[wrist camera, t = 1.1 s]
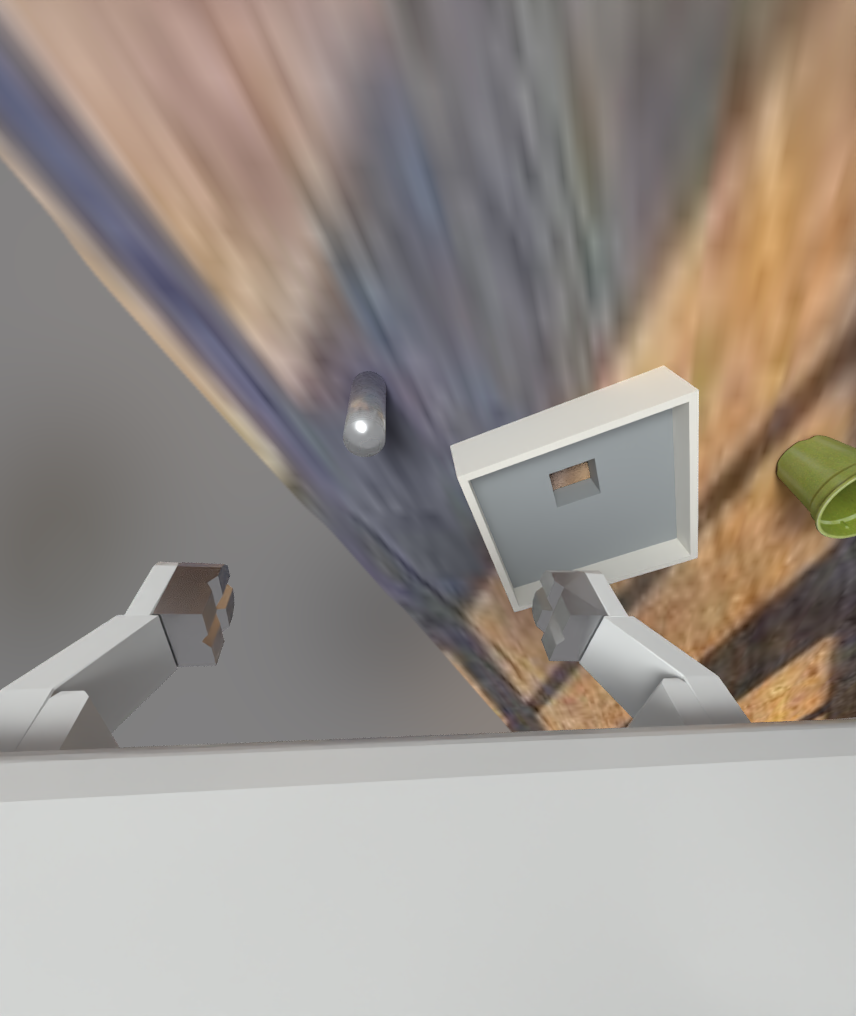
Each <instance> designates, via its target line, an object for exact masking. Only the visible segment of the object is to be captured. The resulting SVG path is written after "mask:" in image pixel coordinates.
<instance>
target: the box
mask: <svg viewBox="0 0 856 1016" xmlns="http://www.w3.org/2000/svg"><path fill="white" fill-rule="evenodd" d="M698 427H699V390H698V389H697V388H695V387H694V386H692V385H691V384H689V383H688V382H687V381H685V380H684V379H682V378H681V377H679V376H678V375H677V374H675V373H674V372H672V371H671V370H670V369H668V368H667V367H665V366H661V367H658V368H656V369H653V370H650V371H648V372H645V373H642V374H640V375H637V376H634V377H632V378H629V379H626V380H624V381H621V382H618V383H616V384H613V385H610V386H608V387H605V388H602V389H600V390H597V391H594V392H592V393H589V394H586V395H584V396H581V397H579V398H576V399H573V400H571V401H568V402H565V403H563V404H560V405H557V406H555V407H552V408H549V409H547V410H544V411H541V412H539V413H536V414H533V415H531V416H528V417H525V418H523V419H520V420H517V421H515V422H512V423H509V424H507V425H504V426H501V427H499V428H496V429H493V430H491V431H488V432H485V433H483V434H480V435H477V436H475V437H472V438H469V439H467V440H464V441H461V442H459V443H456V444H453V445H451V446H450V448H451V452H452V457H453V461H454V466H455V470H456V475H457V478H458V481H459V483H460V485H461V488H462V490H463V492H464V495H465V497H466V500H467V502H468V504H469V507H470V509H471V511H472V514H473V516H474V518H475V521H476V523H477V525H478V528H479V530H480V532H481V535H482V537H483V540H484V542H485V544H486V547H487V549H488V551H489V554H490V556H491V558H492V561H493V563H494V565H495V568H496V570H497V572H498V575H499V577H500V580H501V582H502V584H503V587H504V589H505V591H506V594H507V596H508V598H509V601H510V603H511V605H512V608H513V610H514V612H517V611H521V610H524V609H527V608H531V607H532V604H533V598H534V595H535V592H536V591H537V590H539V589H540V588H541V587H542V584H541V582H540V579H541V576H542V574H543V573H544V572H545V571H546V570H577V571H581V570H591V571H600V572H601V573H602V574H603V575H604V577H605V578H606V580H607V582H608V583H609V584H611V583H615V582H618V581H622V580H625V579H628V578H632V577H635V576H638V575H642V574H645V573H648V572H652V571H655V570H659V569H662V568H665V567H669V566H672V565H675V564H679V563H682V562H685V561H689V560H692V559H696V558H698ZM585 461H588V466H589V472H590V477H591V478H589V479H586V480H583V481H580V482H577V483H574V484H571V485H568V486H565V487H562V488H559V489H556V490H553V489H552V485H551V481H550V477H549V474H551V473H554V472H557V471H560V470H563V469H565V468H568V467H571V466H574V465H577V464H580V463H583V462H585Z"/></svg>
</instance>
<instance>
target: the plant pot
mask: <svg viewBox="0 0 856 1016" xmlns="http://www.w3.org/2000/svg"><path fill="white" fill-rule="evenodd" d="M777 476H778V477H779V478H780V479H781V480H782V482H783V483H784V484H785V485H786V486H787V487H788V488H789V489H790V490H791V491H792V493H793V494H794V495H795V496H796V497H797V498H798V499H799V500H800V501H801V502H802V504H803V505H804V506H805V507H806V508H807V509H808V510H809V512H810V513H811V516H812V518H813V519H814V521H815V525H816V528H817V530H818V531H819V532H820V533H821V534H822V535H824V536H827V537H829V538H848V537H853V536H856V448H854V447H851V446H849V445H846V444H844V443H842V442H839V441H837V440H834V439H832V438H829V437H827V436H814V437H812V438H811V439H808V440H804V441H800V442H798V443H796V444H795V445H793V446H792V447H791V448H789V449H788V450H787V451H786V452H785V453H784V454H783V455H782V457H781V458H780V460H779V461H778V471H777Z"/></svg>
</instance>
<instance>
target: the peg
mask: <svg viewBox="0 0 856 1016" xmlns="http://www.w3.org/2000/svg"><path fill="white" fill-rule="evenodd" d="M385 420H386V384H385V382H384V380H383V378H382V377H381V376H380V375H378V374H377V373H374V372H370V371H366V372H362V373H360V374H358V375H357V376H356V377H355V379H354V380H353V383H352V389H351V395H350V400H349V406H348V411H347V417H346V423H345V428H344V434H343V441H344V444H345V446H346V448H347V449H348V450H349V451H350V452H351V453H353V454H355V455H357V456H360V457H370V456H373V455H376V454H377V453H379V452H380V451H381V450H382V448H383V446H384V444H385Z"/></svg>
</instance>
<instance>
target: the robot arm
mask: <svg viewBox="0 0 856 1016" xmlns="http://www.w3.org/2000/svg"><path fill="white" fill-rule="evenodd" d="M229 577H230V574H229V569H228V566H227V565H225V564H205V563H172V562H159V563H157V564H156V565H154V566H153V568H152V569H151V571H150V573H149V575H148V576H147V578H146V580H145V581H144V583H143V585H142V586H141V588H140V590H139V592H138V593H137V595H136V597H135V598H134V600H133V602H132V603H131V605H130V607H129V608H128V610H127V612H126V613H125V615H117V616H115V617H114V618H112V619H111V620H109V621H107V622H106V623H104V624H103V625H101V626H100V627H98V628H97V629H95V630H94V631H92V632H90V633H89V634H87V635H86V636H84V637H83V638H81V639H79V640H78V641H76V642H75V643H73V644H72V645H70V646H68V647H67V648H65V649H64V650H62V651H61V652H59V653H58V654H56V655H54V656H53V657H51V658H50V659H48V660H47V661H45V662H44V663H42V664H40V665H39V666H37V667H36V668H34V669H33V670H31V671H29V672H28V673H26V674H25V675H23V676H22V677H20V678H19V679H17V680H15V681H14V682H12V683H11V684H9V685H8V686H6V687H5V688H3V689H1V690H0V1016H856V719H833V720H808V721H783V722H758V723H751V722H750V721H749V719H748V718H747V717H746V715H745V714H744V712H743V711H742V709H741V708H740V707H739V705H738V704H737V702H736V701H735V699H734V698H733V697H732V695H731V694H730V692H729V691H728V690H727V688H726V687H725V685H724V684H723V682H722V681H721V680H720V678H719V677H718V676H717V675H716V674H714V673H713V672H711V671H710V670H709V669H707V668H706V667H704V666H703V665H702V664H700V663H699V662H697V661H696V660H694V659H693V658H692V657H690V656H689V655H687V654H686V653H685V652H683V651H682V650H680V649H679V648H677V647H676V646H675V645H673V644H672V643H670V642H669V641H668V640H666V639H665V638H663V637H662V636H660V635H659V634H658V633H656V632H655V631H653V630H652V629H651V628H649V627H648V626H646V625H645V624H643V623H642V622H641V621H639V620H638V619H636V618H635V617H634V616H628V615H627V613H626V612H625V610H624V608H623V607H622V605H621V603H620V602H619V600H618V598H617V597H616V595H615V593H614V592H613V590H612V588H611V587H610V585H609V583H608V582H607V580H606V578H605V577H604V575H603V574H602V573H601V572H600V571H591V570H581V571H577V570H546V571H545V572H544V573H543V574H542V576H541V579H540V582H541V584H542V587H541V588H540V589H539V590H537V591H536V592H535V595H534V598H533V604H532V612H533V618H534V621H535V624H536V626H537V627H538V628H539V629H541V630H542V631H543V632H544V634H543V637H542V639H541V640H542V643H543V645H544V648H545V651H546V653H547V656H548V659H549V661H580V662H579V663H580V664H581V665H582V666H583V667H584V668H585V669H586V670H587V671H588V672H589V673H590V674H591V675H592V676H593V677H594V679H595V680H596V681H597V682H598V683H599V684H600V685H601V686H602V687H603V688H604V689H605V690H606V691H607V692H608V693H609V694H610V695H611V696H612V697H613V698H614V699H615V700H616V701H617V702H618V703H619V704H620V705H621V706H622V707H623V708H624V709H625V710H626V711H627V713H628V714H629V715H630V716H631V717H632V718H633V720H632V721H631V722H630V724H629V725H628V726H627V728H605V729H579V730H554V731H529V732H504V733H479V734H454V735H429V736H403V737H378V738H353V739H329V740H302V741H277V742H252V743H226V744H202V745H201V744H200V745H176V746H151V747H150V746H149V747H124V748H119V746H118V744H117V743H116V741H115V739H114V738H113V736H112V734H111V733H112V732H113V731H114V730H116V729H117V728H118V726H119V725H121V724H122V723H123V722H124V721H125V720H126V719H127V718H128V717H129V716H130V715H131V714H132V713H133V712H134V711H135V710H136V709H137V708H138V707H139V706H140V705H141V704H142V703H143V702H144V701H145V700H146V699H147V698H148V697H149V696H150V695H151V694H152V693H153V692H155V691H156V690H157V689H158V688H159V687H160V686H161V685H162V684H163V683H164V682H165V681H166V680H167V679H168V678H169V677H170V676H171V675H172V674H173V673H174V672H175V671H176V670H177V667H187V666H213V665H216V664H217V662H218V659H219V656H220V653H221V650H222V647H223V643H224V638H223V634H222V632H223V631H224V630H225V629H227V628H228V627H229V626H230V622H231V620H232V616H233V609H234V593H233V588H231V587H230V586H229V585H228V584H227V583H228V580H229Z"/></svg>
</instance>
